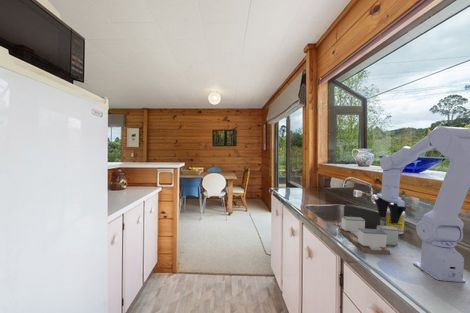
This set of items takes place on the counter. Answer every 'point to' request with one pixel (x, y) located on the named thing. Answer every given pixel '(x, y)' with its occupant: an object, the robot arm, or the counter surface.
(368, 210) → the leaning round-cornered charcoal block
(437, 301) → the counter surface
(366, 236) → the mounted modules
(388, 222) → the supplement bottle
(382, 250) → the rail board
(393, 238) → the block
